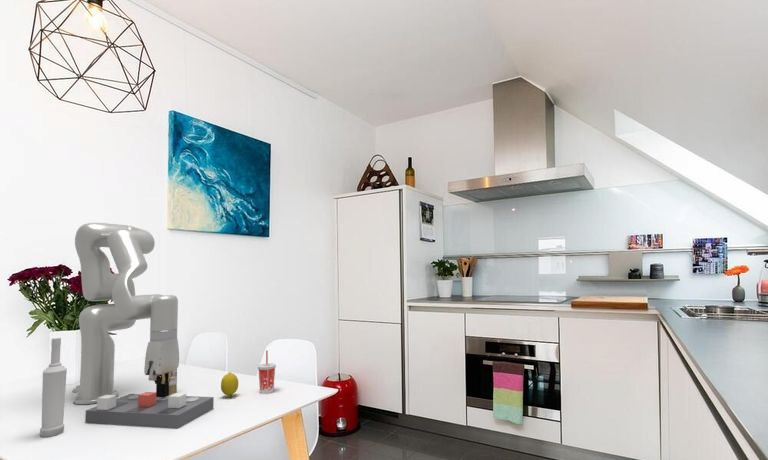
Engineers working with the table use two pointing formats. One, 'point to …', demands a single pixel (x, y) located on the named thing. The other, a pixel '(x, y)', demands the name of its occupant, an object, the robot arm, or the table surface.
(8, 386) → the table surface
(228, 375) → the lemon
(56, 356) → the bottle
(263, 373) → the beverage cup
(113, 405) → the left switch
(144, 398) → the red switch
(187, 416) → the switch panel
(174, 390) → the sprinkles bottle
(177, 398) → the right switch
